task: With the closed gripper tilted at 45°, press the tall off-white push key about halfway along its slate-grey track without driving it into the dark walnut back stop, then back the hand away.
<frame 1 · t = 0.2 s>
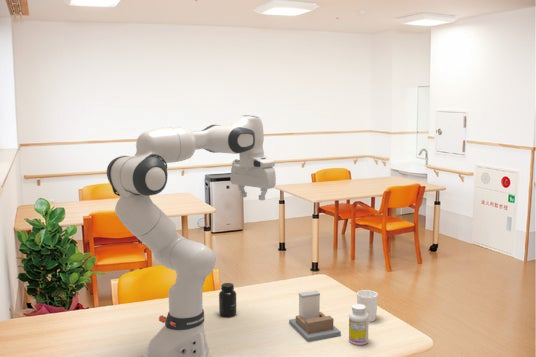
hand: (252, 198, 195), 48 cm above the table, tool pointing down, fingers open, 8 cm apart
white cup: (366, 319, 206), on the table
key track: (313, 328, 197), on the table
push key: (309, 306, 200), point 7 cm above the table, slide at 0.0 cm
supplement bottle 2: (358, 341, 187), on the table
supplement bottle: (228, 314, 212), on the table
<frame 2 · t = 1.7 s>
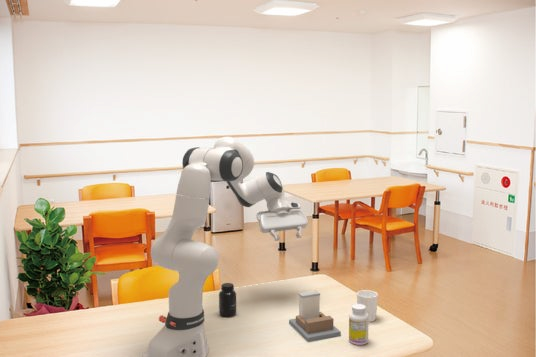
hand: (288, 238, 215), 28 cm above the table, tool tilted 45°, fingers open, 8 cm apart
nothing on the table moved.
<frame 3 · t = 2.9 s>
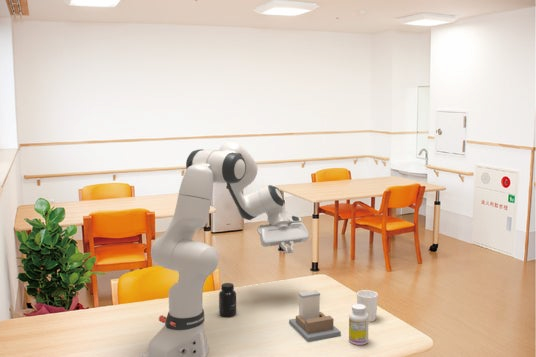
hand: (289, 252, 214), 23 cm above the table, tool tilted 45°, fingers closed
nothing on the table moved.
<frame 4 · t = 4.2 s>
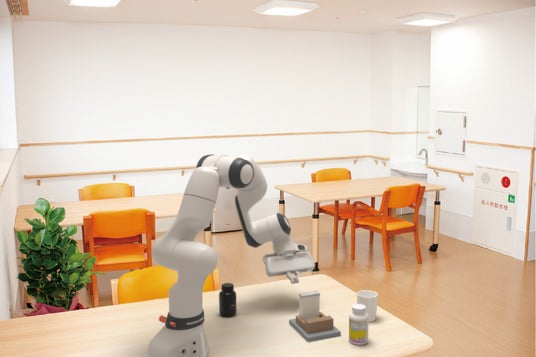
hand: (295, 282, 211), 12 cm above the table, tool tilted 45°, fingers closed
nothing on the table moved.
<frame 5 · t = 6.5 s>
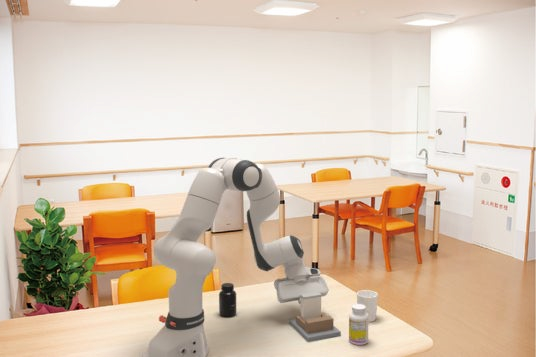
hand: (308, 309, 201), 6 cm above the table, tool tilted 45°, fingers closed, pressing on push key
push key: (310, 308, 198), point 7 cm above the table, slide at 1.3 cm, touching gripper
everything else where it was.
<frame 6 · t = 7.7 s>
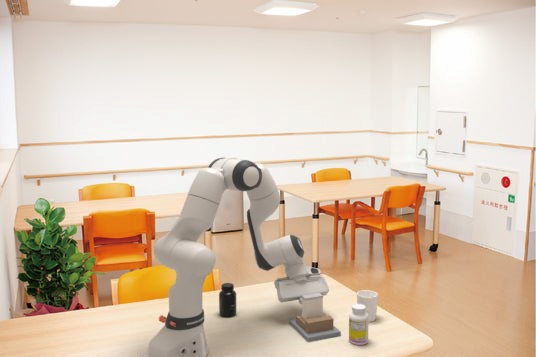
hand: (308, 308, 201), 6 cm above the table, tool tilted 45°, fingers closed
push key: (312, 309, 197), point 7 cm above the table, slide at 2.6 cm
everything else where it was.
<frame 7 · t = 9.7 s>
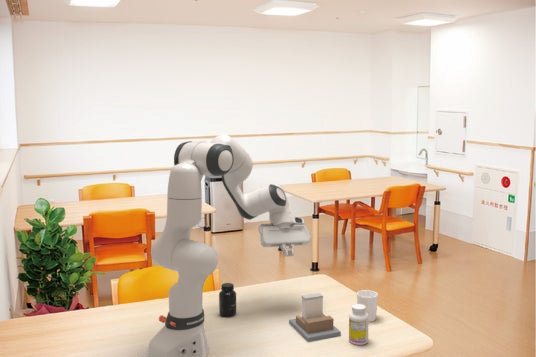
hand: (289, 255, 206), 24 cm above the table, tool tilted 40°, fingers closed
nothing on the table moved.
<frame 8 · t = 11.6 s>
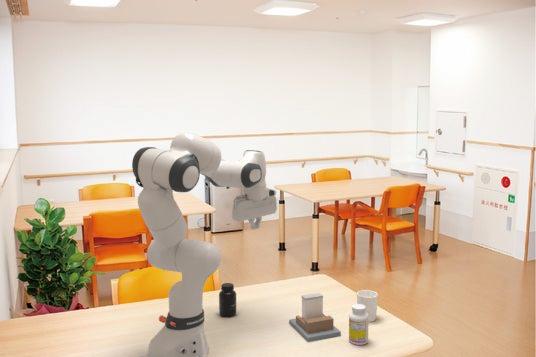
hand: (255, 228, 203), 35 cm above the table, tool pointing down, fingers closed
nothing on the table moved.
at the end: push key slide at 2.6 cm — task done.
